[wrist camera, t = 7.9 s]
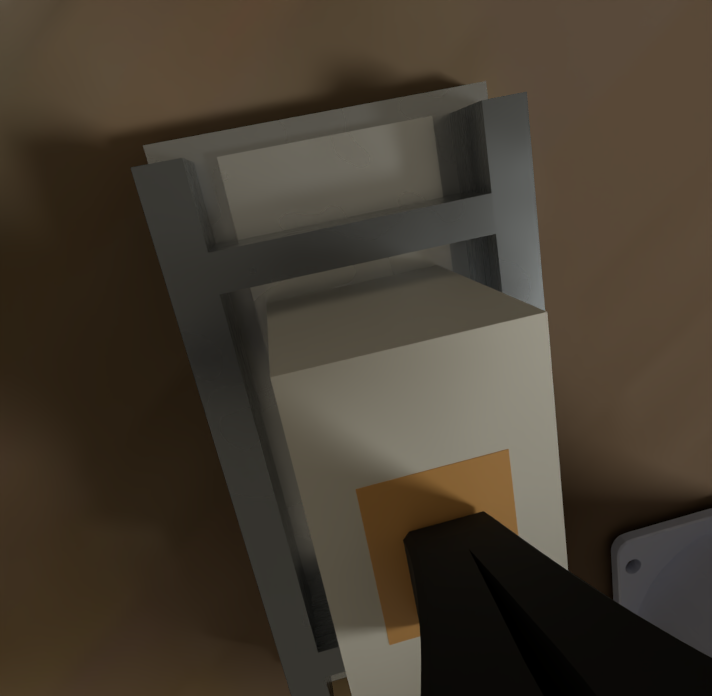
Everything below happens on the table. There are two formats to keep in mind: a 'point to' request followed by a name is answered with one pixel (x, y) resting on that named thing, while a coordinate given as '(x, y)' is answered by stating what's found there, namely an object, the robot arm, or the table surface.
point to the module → (411, 441)
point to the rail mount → (324, 281)
